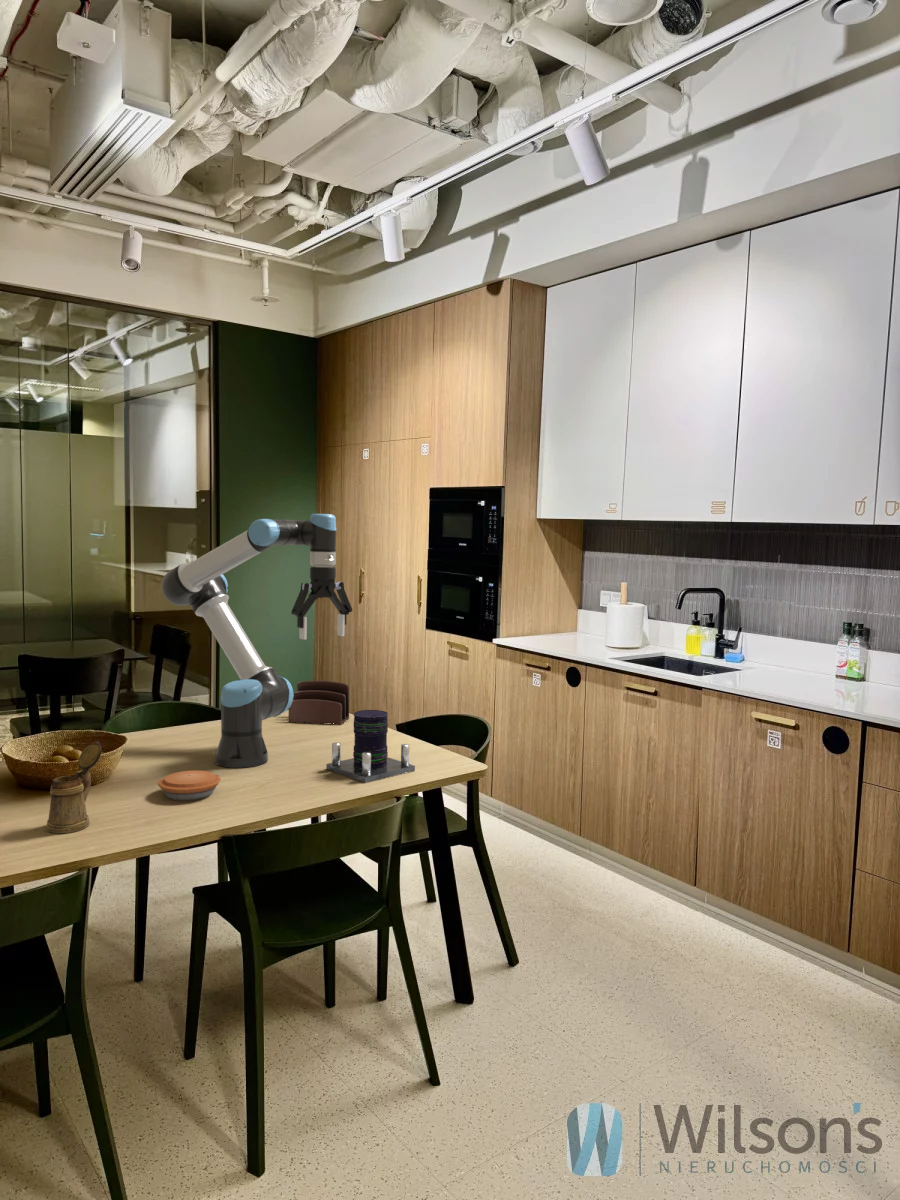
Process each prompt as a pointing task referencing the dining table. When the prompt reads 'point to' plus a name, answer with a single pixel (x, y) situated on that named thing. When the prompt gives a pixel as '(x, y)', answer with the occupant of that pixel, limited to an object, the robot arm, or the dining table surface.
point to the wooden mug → (72, 795)
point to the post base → (375, 772)
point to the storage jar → (371, 737)
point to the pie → (189, 785)
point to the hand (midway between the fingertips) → (322, 637)
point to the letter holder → (320, 702)
